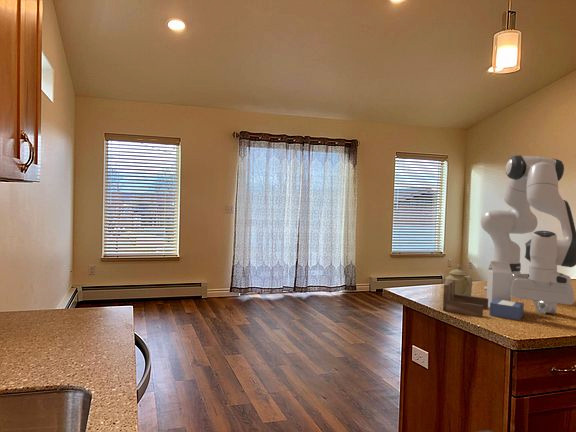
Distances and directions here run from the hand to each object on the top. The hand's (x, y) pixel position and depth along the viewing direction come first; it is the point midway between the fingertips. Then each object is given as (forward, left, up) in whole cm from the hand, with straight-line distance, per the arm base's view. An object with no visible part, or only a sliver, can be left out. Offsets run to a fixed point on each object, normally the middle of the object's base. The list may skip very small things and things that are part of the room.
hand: (540, 313), depth 161 cm
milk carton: (-11, -15, -3) cm, 19 cm away
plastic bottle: (-14, +2, -3) cm, 14 cm away
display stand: (0, -25, -3) cm, 25 cm away
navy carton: (0, -11, -3) cm, 12 cm away
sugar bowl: (-22, -31, -3) cm, 38 cm away
